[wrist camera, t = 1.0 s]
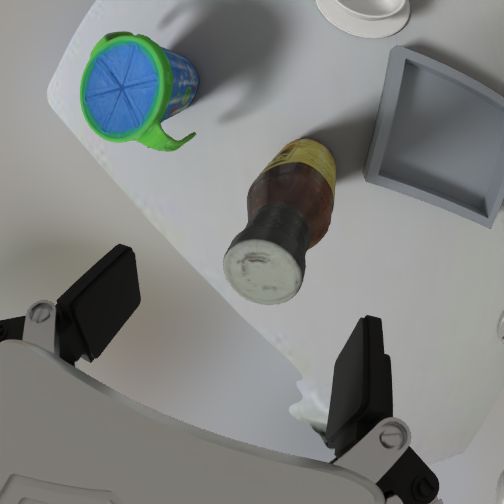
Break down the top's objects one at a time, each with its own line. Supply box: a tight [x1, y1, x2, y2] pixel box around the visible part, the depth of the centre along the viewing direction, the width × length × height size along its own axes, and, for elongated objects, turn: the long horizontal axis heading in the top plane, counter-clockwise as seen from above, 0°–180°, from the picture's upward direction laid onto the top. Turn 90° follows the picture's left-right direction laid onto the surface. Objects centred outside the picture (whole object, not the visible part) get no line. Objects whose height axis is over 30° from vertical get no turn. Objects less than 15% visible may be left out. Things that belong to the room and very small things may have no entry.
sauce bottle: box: [223, 138, 336, 305], centre depth 22 cm, size 7×6×20 cm
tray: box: [363, 45, 504, 229], centre depth 22 cm, size 16×14×4 cm
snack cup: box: [80, 32, 199, 151], centre depth 24 cm, size 16×11×10 cm
